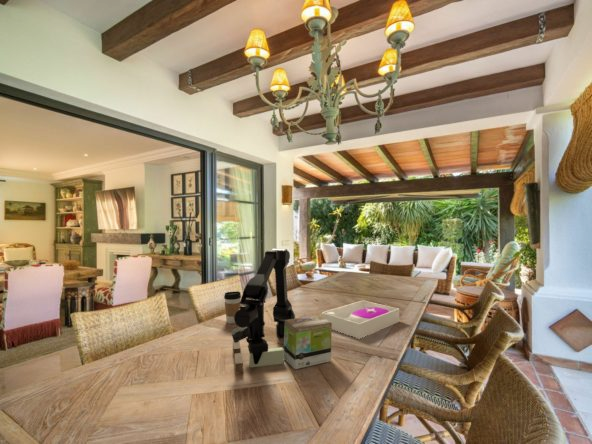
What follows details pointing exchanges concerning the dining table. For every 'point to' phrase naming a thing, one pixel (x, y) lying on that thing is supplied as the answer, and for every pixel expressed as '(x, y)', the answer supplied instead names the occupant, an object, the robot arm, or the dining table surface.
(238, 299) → the coffee cup
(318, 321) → the tea box
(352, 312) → the cream tray
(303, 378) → the dining table surface
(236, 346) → the walnut rail
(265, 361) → the pale green pillar
